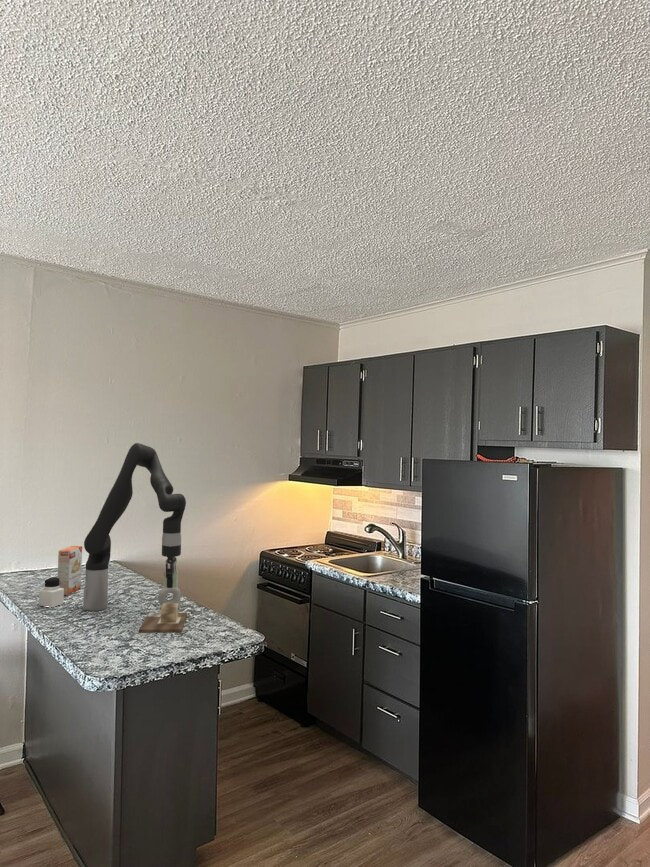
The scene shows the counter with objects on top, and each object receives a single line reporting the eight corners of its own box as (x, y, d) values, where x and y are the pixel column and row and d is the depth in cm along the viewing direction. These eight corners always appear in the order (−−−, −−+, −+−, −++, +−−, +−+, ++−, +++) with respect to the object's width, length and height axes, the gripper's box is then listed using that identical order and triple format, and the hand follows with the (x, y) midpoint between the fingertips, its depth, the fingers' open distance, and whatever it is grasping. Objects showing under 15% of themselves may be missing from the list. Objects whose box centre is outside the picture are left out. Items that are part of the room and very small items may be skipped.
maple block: (160, 622, 243) (161, 607, 243) (162, 618, 249) (163, 603, 249) (176, 622, 244) (176, 607, 244) (177, 617, 250) (178, 603, 250)
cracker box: (69, 596, 284) (70, 550, 284) (56, 595, 284) (57, 550, 284) (81, 588, 298) (82, 545, 298) (69, 588, 298) (70, 545, 298)
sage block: (163, 588, 244) (163, 573, 244) (165, 585, 249) (165, 570, 249) (176, 588, 245) (176, 573, 245) (177, 585, 250) (178, 570, 250)
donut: (158, 610, 265) (159, 587, 265) (156, 608, 268) (157, 585, 268) (181, 607, 270) (182, 584, 270) (179, 605, 273) (180, 583, 273)
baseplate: (138, 632, 234) (138, 629, 235) (148, 615, 256) (148, 612, 256) (181, 632, 236) (181, 628, 236) (187, 615, 258) (187, 612, 258)
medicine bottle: (63, 604, 270) (64, 577, 270) (51, 608, 263) (52, 580, 264) (50, 602, 273) (51, 575, 273) (38, 606, 266) (39, 578, 266)
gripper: (164, 540, 254) (163, 581, 253) (159, 546, 239) (158, 590, 239) (182, 540, 254) (182, 581, 254) (179, 546, 240) (178, 590, 240)
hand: (170, 585), depth 247 cm, fingers closed on sage block, 5 cm apart
